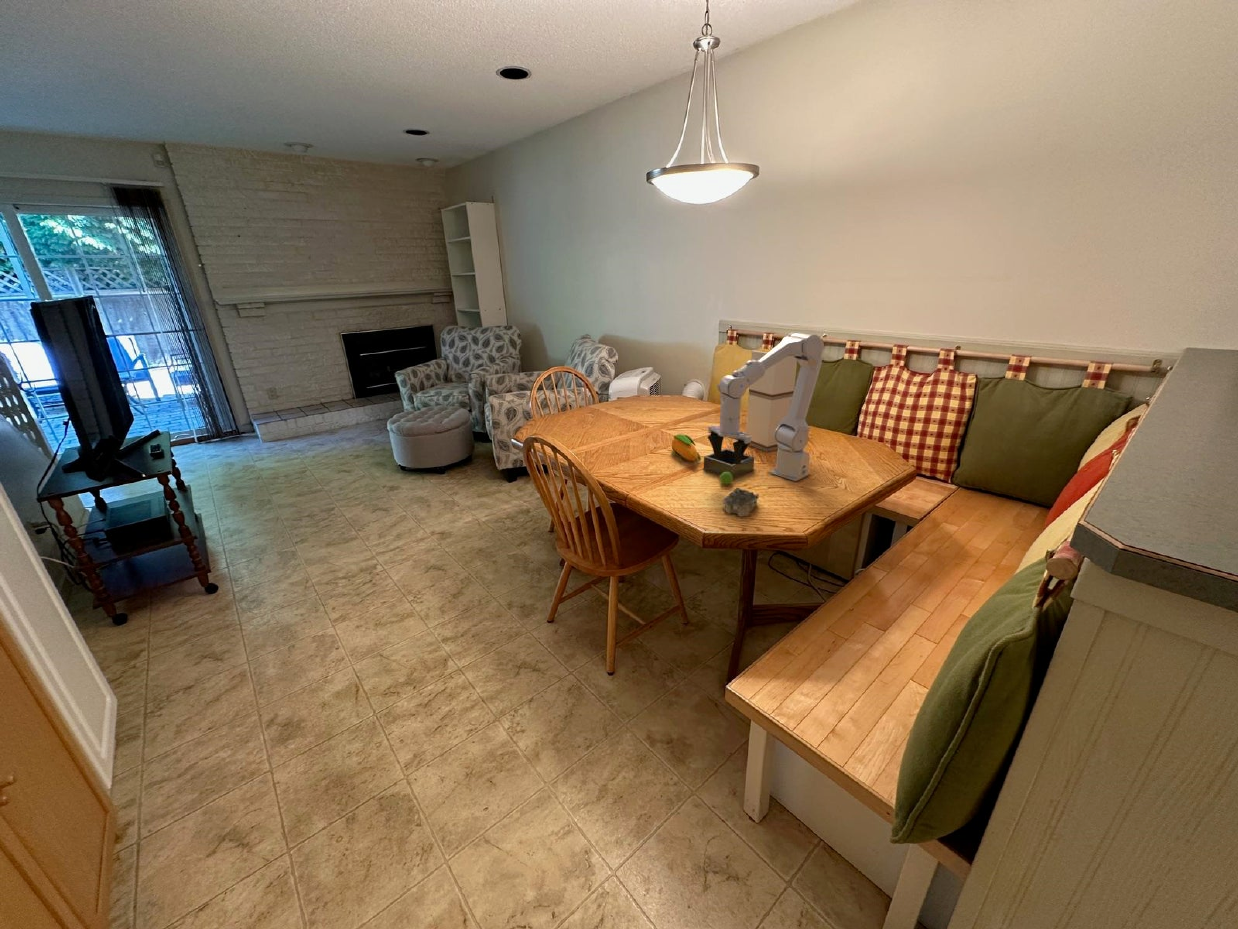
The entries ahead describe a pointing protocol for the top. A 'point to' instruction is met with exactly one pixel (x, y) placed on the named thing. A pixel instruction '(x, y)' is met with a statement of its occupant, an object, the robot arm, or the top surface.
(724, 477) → the pea
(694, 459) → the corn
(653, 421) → the top surface
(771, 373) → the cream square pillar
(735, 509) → the gray rock
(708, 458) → the dark grey open box
